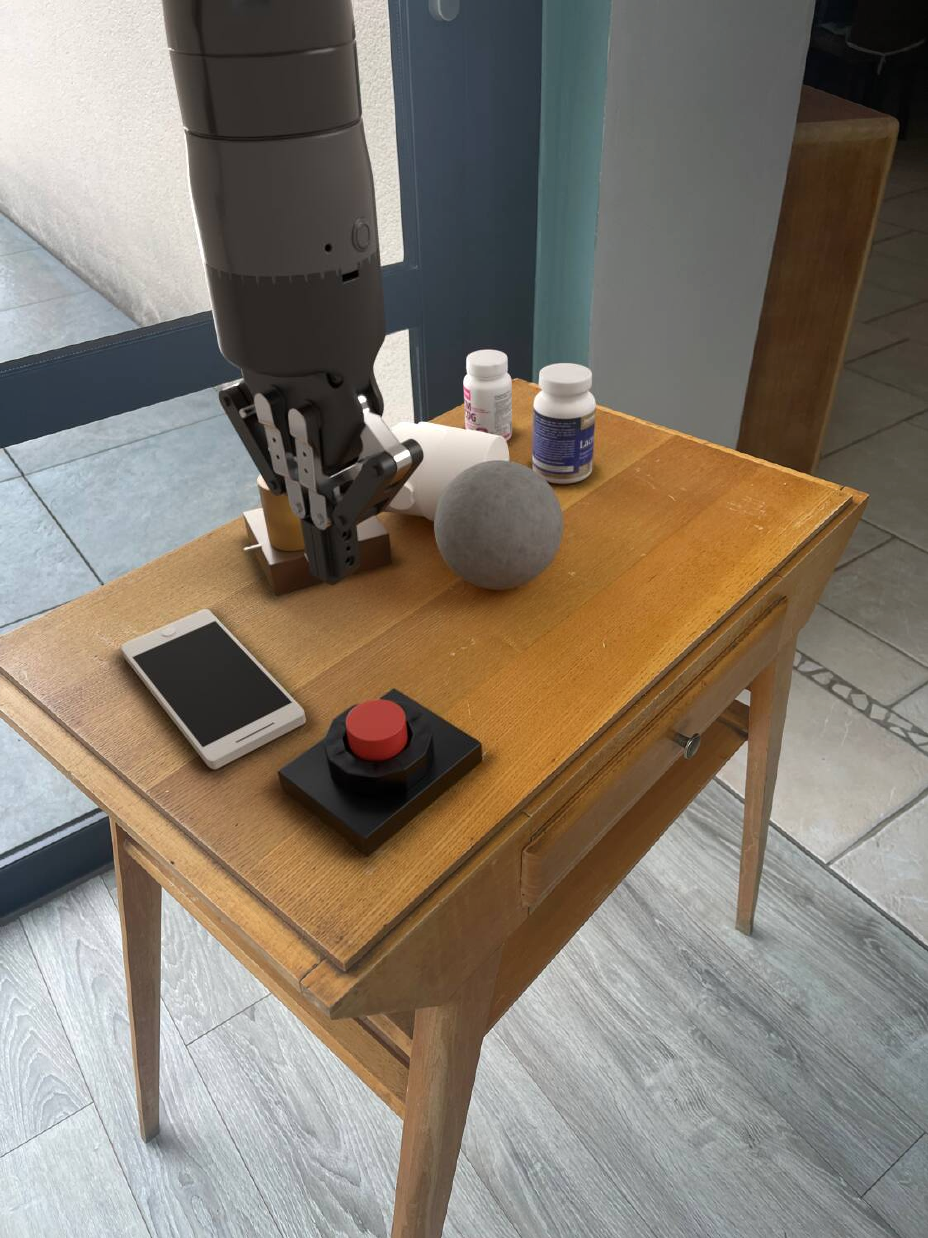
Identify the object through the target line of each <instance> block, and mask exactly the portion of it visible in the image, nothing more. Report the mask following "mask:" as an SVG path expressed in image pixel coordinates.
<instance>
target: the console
mask: <svg viewBox="0 0 928 1238" xmlns="http://www.w3.org/2000/svg"><path fill="white" fill-rule="evenodd" d="M242 516H243V520H244V525H245V529H246V535H247V539H248V542H249V544H250V545H249V546H246V547H243V551H244V552H249V551H253V552H254V555H255V556H256V559H257V560H258V563H259V564H260V567H261V569H262V570H263V573H264V574H265V576H266V578H267V581H268V583H269V584H270V587H271V589H272V590H273V593H274V595H275V596H281V595H285V594H288V593H291V592H295V591H299V590H301V589H306V588H309V587H312V586H317V585H320V584H323V583H325V582H324V581H322V580H321V579H319V578H317V577H315V576H314V575H312V574H311V573H310V568H309V562H308V558H307V555H306V552H305V549H303V550H299V551H283V550H279V549H276V548H275V547H273V546H272V545H271V544H270V542H269V538H268V533H267V528H266V523H265V518H264V513H263V508H262V507H258V508H254V509H250V510H247V511H242ZM357 534H358V543H359V545H358V546H359V553H360V560H361V562H360V566H359V568H358V569H357V570H356V572H355V573H354V574H353V575H356V574H359V573H362V572H366V571H369V570H373V569H377V568H380V567H384V566H387V565H391V564H393V557H392V556H393V555H392V547H391V538H390V532H389V531H388V529H387V528H386V527H385V525H384V524H383V523H382V521H381V520H380V519H379V517H378V515H376V516H372V517H370V518H369V519H367V520H365V521H363V522H361V523H360V524H358V525H357Z"/></svg>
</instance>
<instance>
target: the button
mask: <svg viewBox="0 0 928 1238" xmlns="http://www.w3.org/2000/svg"><path fill="white" fill-rule="evenodd" d="M358 704H359V705H357V706H356V707H354V708H353V709H352V710H351V711H350V712H349V714H348V716H347V718H346V729H347V735H348V741H349V746H350V749H351V750H352V752H353V753H354V754H355V755H356V756H358V757H360V758H362V759H365V760H369V761H381V760H386V759H389V758H392V757H394V756H395V755H397V754H398V753H400V752H401V751H402V750H403V748H404V747H405V745H406V743H407V738H408V737H407V727H406V717H405V713H404V711H403V709H402V708H401V707H400V706H399V705H397V704H396V703H394V702H392V701H388V700H382V699H379V698H377V699H370V700H366V701H362V702H361V704H360V703H358Z"/></svg>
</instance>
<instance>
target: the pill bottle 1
mask: <svg viewBox="0 0 928 1238" xmlns="http://www.w3.org/2000/svg"><path fill="white" fill-rule="evenodd" d="M508 361H509V360H508V356H507V354H506V353H504V352H503V351H501V350H497V349H480V350H479V349H478V350H476V351H472V352H471V353H469V354H467V356H466V364H465V365H466V366H465V369H466V374H465V376H464V378H463V402H464V404H463V405H464V424H465V425H464V426H465V428H464V429H466V430H475V431H481V432H485V433H488V434H494V435H499V436H502V437H504V439H505V440H506V442H507V441H509V440H510V439H511V437H512V434H513V382H512V377H511V375H510V374H509V373H508V369H509V367H508V366H509V365H508V364H509V363H508Z"/></svg>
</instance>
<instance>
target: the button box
mask: <svg viewBox="0 0 928 1238" xmlns="http://www.w3.org/2000/svg"><path fill="white" fill-rule="evenodd" d="M378 699H382V700H388V701H392V702H394V703H396V704H397V705H399V706H400V707H401V708H402V709H403V711H404V713H405V717H406V727H407V737H408V738H407V743H406V745H405V747H404V748H403V750H402V751H401V752H400V753H398V754H397V755H395V756H394V757H392V758H389V759H386V760H381V761H369V760H365V759H362V758H360V757H358V756H356V755H355V754H354V753H353V752H352V750H351V749H350V746H349V741H348V735H347V729H346V718H347V716H348V714H349V712H350V711H351V710H352V709H353V708H354V707H356V706H357V705H359V704H361V703H362V702H361V703H356V704H353V705H351V706H350V707H349V708H347V709H345V710H344V711H343V712H341V713H339V714H338V715H337V716H335V717H334V718H333V719H332V720H331V722H330V724H329V727H328V728H327V731H326V732H325V735H324V736H323V738H322V739H320V740H319V741H317V742H316V743H314V744H313V745H311V746H310V747H309V748H308V749H306V750H305V751H303V752H302V753H300V754H299V755H297V756H296V757H295V758H294V759H292V760H291V761H290V762H287V763H286V764H285V765H283V766H282V767H281V768H279V769H278V770H277V776H278V779H279V785H280V788H281V790H282V791H283V792H285V793H286V794H287V795H288V796H289V797H290V798H292V799H293V800H295V801H296V802H297V803H298V804H300V805H301V806H302V807H304V808H305V809H306V810H307V811H308V812H310V813H311V814H312V815H313V816H315V817H316V818H318V819H319V820H320V821H321V822H322V823H324V824H325V825H326V826H327V827H328V828H330V829H332V830H333V832H335V833H336V834H338V835H339V836H340V837H342V838H343V839H344V840H345V841H347V842H348V843H349V844H350V845H351V846H353V847H354V848H355V849H357V850H358V851H359V852H361V853H362V855H364V856H365V857H368V858H369V857H370V856H371V855H372V854H373V853H375V852H376V851H377V850H378V849H379V848H380V847H382V846H383V845H384V844H385V843H387V842H388V841H389V840H390V839H392V838H393V837H394V836H395V835H396V834H398V833H399V832H400V831H402V829H403V828H405V827H406V826H407V825H408V824H409V823H411V822H412V821H413V820H414V819H415V818H416V817H418V816H419V815H420V814H421V813H423V812H424V811H425V810H426V809H427V808H428V807H430V806H431V805H432V804H433V803H434V802H435V801H436V800H438V799H439V798H441V797H442V796H443V795H444V794H445V793H447V792H448V791H450V789H451V788H453V786H455V785H456V784H457V783H459V781H461V780H462V779H463V778H464V777H466V775H468V774H469V773H470V772H471V771H473V770H474V769H475V768H476V767H478V766H479V765H480V764H481V763H482V762H483V745H482V742H481V741H479V740H478V739H476V738H475V737H473V736H471V735H470V734H468V733H467V732H465V731H464V730H462V729H461V728H459V727H457V726H456V725H454V724H452V723H451V722H449V721H448V720H446V719H444V718H443V717H441V716H439V715H438V714H437V713H435V712H433V711H432V710H430V709H428V708H427V707H425V706H424V705H422V704H420V703H419V702H417V701H416V700H414V699H413V698H411V697H409V696H407V694H404V693H403V692H401V691H399V690H398V689H396V688H395V687H394V688H392V689H390V690H389V691H387V692H386V693H384V694H383V695H382V696H380V697H379V698H378Z"/></svg>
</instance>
